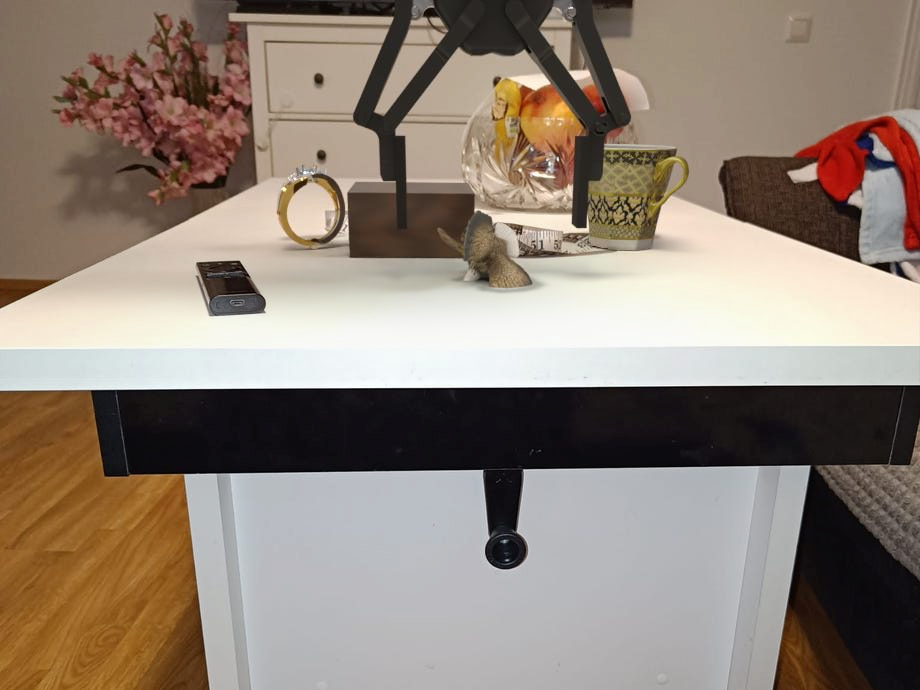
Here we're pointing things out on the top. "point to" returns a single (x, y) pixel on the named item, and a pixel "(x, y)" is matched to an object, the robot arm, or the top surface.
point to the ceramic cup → (631, 195)
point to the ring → (292, 187)
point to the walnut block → (425, 213)
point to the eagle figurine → (490, 252)
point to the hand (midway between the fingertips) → (491, 227)
